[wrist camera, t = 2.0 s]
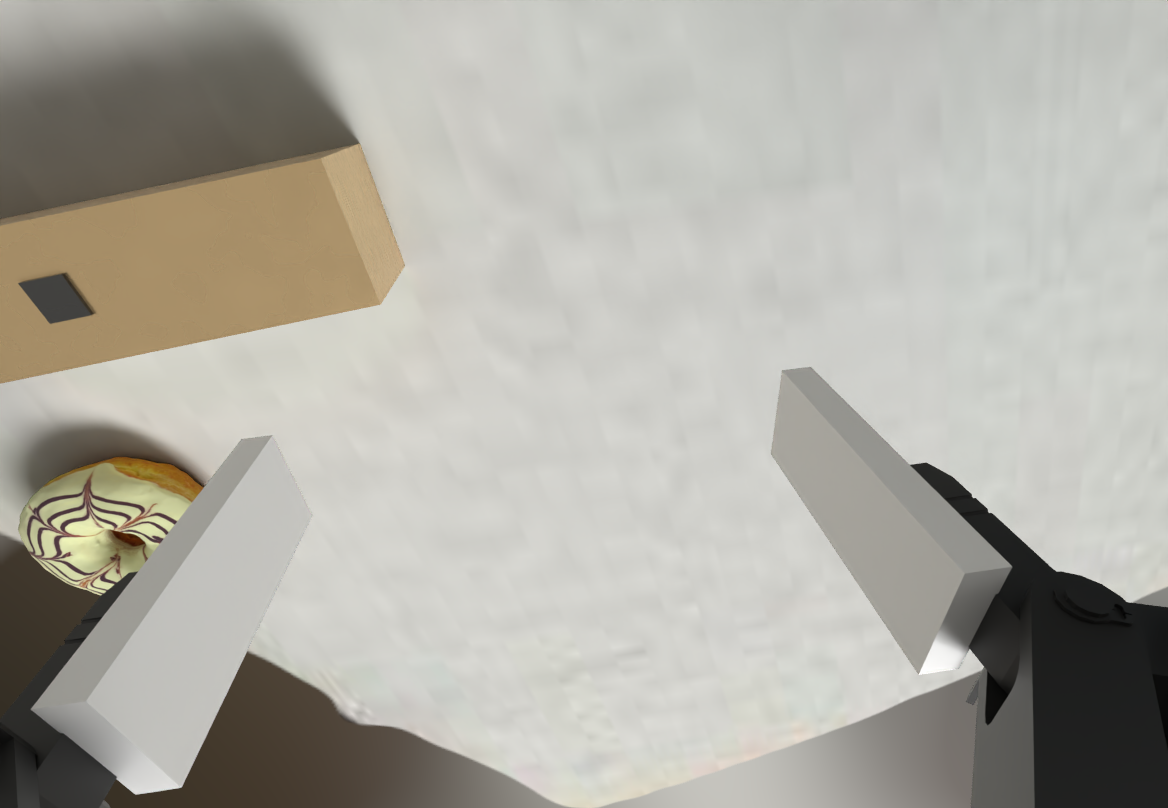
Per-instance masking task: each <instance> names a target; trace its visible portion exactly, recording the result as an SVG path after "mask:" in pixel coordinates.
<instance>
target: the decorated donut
mask: <svg viewBox="0 0 1168 808" xmlns="http://www.w3.org/2000/svg"><path fill="white" fill-rule="evenodd" d="M202 489H203V487H202V486H200V485H199V484H198V483H197V482H195V481H194V480H193V479H192V478H191V477H190V476H189V475H188V474H187V473H185V472H183V471H180V470H179V469H178V468H177V467H175V466H173V465H170V464H164V463H155V462H152V461H147V460H143V459H133V458H129V457H114V458H112V459H109V460H104V461H100V462H97V463H93V464H90V465H86V466H83V467H80V468H77V469H74V470H72V471H69V472H68V473H65V474H62V475H60V476H58V477H56V478H54V479H53V480H50V481H49V482H48V483H47V484H45V485H44V486H43V487H42V488H41V489H40V490H38V492H37V493H35V494H34V495H33V496H32V497H31V498H30V500H29V501H28V503H27V505H26V506H25V507H24V509H23V511H22V513H21V515H20V524H19V528H18V530H19V533H20V535H21V539H22V541H23V542H24V544H25V546H26V547H27V549H28V551H29V553H30V554H31V555H32V557H33V558H34V559H36V560H37V561H38V562H39V563H40V564H41V565H42V566H43V568H45V569H46V570H47V571H49V572H51V573H52V574H53V575H55V576H56V577H58V578H60V579H61V580H63V581H64V582H66V583H68V584H70V585H73V586H75V587H78V588H81V589H85V590H89V591H91V592H93V593H95V594H98V595H102V594H104V593H105V592H106V591H107V590H108V589H110V588H111V587H112V586H113V585H115V584H116V583H117V582H118V581H119V580H121V579H122V578H123V577H124V576H126V575H127V574H128V573H130V572H138V571H139V570H140V569H141V567H142V566H143V565H144V564H145V562H146V561H147V560H148V558H149V557H150V556H151V555H152V553H153V552H154V551H155V549H156V548H157V547H158V546H159V544H160V543H161V542H162V541H163V539H164V538H165V537H166V535H167V534H168V533H169V532H170V530H171V529H172V528H173V526H174V525H175V524H176V523H177V521H178V520H179V519H180V517H181V516H182V515H183V514H184V512H185V511H186V510H187V508H188V507H189V506H190V505H191V503H192V502H193V501H194V500H195V498H196V497H197V496H198V494H199V493H200V492H201V491H202Z"/></svg>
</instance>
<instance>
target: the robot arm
mask: <svg viewBox="0 0 1168 808" xmlns="http://www.w3.org/2000/svg"><path fill="white" fill-rule="evenodd" d="M771 455H772V456H773V458H774V459H775V461H776V462H777V464H778V465H779V467H780V468H781V470H782V471H783V473H784V474H785V476H786V477H787V479H788V480H789V482H790V483H791V485H792V486H793V488H794V489H795V491H796V492H797V494H798V495H799V497H800V498H801V500H802V501H803V503H804V504H805V506H806V507H807V509H808V510H809V512H810V513H811V515H812V516H813V517H814V519H815V520H816V522H817V523H818V525H819V526H820V528H821V529H822V531H823V532H824V534H825V535H826V537H827V538H828V540H829V541H830V543H831V544H832V546H833V547H834V549H835V550H836V552H837V553H838V555H839V556H840V558H841V559H842V561H843V562H844V564H845V565H846V567H847V568H848V570H849V571H850V573H851V574H852V576H853V577H854V579H855V580H856V582H857V583H858V585H859V586H860V588H861V589H862V591H863V592H864V594H865V595H866V597H867V598H868V600H869V601H870V603H871V604H872V606H873V607H874V609H875V610H876V612H877V613H878V615H879V616H880V618H881V619H882V621H883V622H884V624H885V625H886V627H887V628H888V630H889V631H890V633H891V634H892V636H893V637H894V639H895V640H896V642H897V643H898V645H899V646H900V648H901V649H902V651H903V652H904V654H905V655H906V657H907V658H908V660H909V661H910V663H911V664H912V666H913V667H914V669H915V670H916V672H917V673H918V674H919V675H921V674H927V673H934V672H940V671H947V670H953V669H959V668H960V666H961V664H962V662H963V660H964V658H965V657H966V655H967V653H968V651H969V649H971V651H972V652H973V653H974V654H975V656H976V657H977V658H978V660H979V661H980V662H981V663H982V665H983V666H984V668H983V670H982V672H981V673H980V675H979V677H978V679H977V681H976V682H975V684H974V686H973V687H972V689H971V691H970V693H969V696H968V698H967V700H966V702H968V703H970V704H972V705H973V704H974V703H975V701H976V699H977V698H978V705H977V720H976V736H975V752H974V766H973V767H974V768H973V782H972V798H971V808H1168V607H1160V606H1152V605H1144V604H1136V603H1128V602H1126V601H1125V600H1124V599H1123V598H1122V597H1121V596H1119V595H1117V594H1116V593H1114V592H1113V591H1111V590H1110V589H1108V588H1107V587H1105V586H1103V585H1102V584H1100V583H1097V582H1095V581H1092V580H1090V579H1087V578H1085V577H1083V576H1080V575H1075V574H1070V573H1065V572H1056V571H1055V570H1054V569H1052V568H1051V567H1050V566H1049V565H1048V564H1047V563H1046V562H1045V561H1044V560H1042V559H1041V558H1040V557H1039V556H1038V555H1037V554H1036V553H1035V552H1034V551H1033V550H1032V549H1030V548H1029V547H1028V546H1027V545H1026V544H1025V543H1024V542H1023V541H1022V540H1021V539H1020V538H1018V537H1017V536H1016V535H1015V534H1014V533H1013V532H1012V531H1011V530H1010V529H1009V528H1008V527H1007V526H1005V525H1004V524H1003V523H1002V522H1001V521H1000V520H999V519H998V518H997V517H996V516H995V515H993V514H992V513H988V509H987V508H986V507H985V506H984V505H983V504H981V503H980V502H979V501H978V500H977V499H976V498H972V494H971V493H970V492H968V491H967V490H966V489H965V488H964V487H963V486H962V485H961V484H960V483H959V482H958V481H956V480H955V479H954V478H953V477H952V476H950V475H948V474H946V473H945V472H943V471H941V470H939V469H937V468H935V467H933V466H932V465H930V464H928V463H921V464H913V465H909V464H908V463H907V462H906V461H905V460H904V459H903V458H902V457H901V456H900V455H899V454H898V453H897V452H896V451H895V450H894V449H893V448H892V447H891V446H890V445H889V444H888V443H887V442H886V441H885V440H884V439H883V438H882V437H881V436H880V435H879V434H878V433H877V432H876V431H875V430H874V429H873V428H872V427H871V426H870V425H869V424H868V423H867V422H866V421H865V420H864V419H863V418H862V417H861V416H860V415H859V414H858V413H857V412H856V411H855V410H854V409H853V408H852V407H851V406H850V405H849V404H848V403H847V402H846V401H845V400H844V399H843V398H842V397H841V396H839V395H838V394H837V393H836V392H835V391H834V390H833V389H832V388H831V387H830V386H829V385H828V384H827V383H826V382H825V381H824V380H823V379H822V378H821V377H820V376H819V375H818V374H817V373H816V372H815V371H814V370H813V369H812V368H811V367H806V368H798V369H790V370H782V375H781V383H780V390H779V398H778V405H777V413H776V420H775V428H774V435H773V443H772V450H771ZM311 517H312V513H311V511H310V509H309V507H308V505H307V503H306V501H305V499H304V497H303V495H302V493H301V491H300V489H299V487H298V485H297V483H296V481H295V479H294V477H293V475H292V473H291V471H290V469H289V467H288V465H287V463H286V461H285V459H284V457H283V455H282V453H281V451H280V449H279V447H278V445H277V443H276V441H275V439H274V437H273V435H271V436H263V437H255V438H248V439H241V441H240V442H239V443H238V444H237V446H236V447H235V448H234V450H233V451H232V452H231V453H230V455H229V456H228V457H227V459H226V460H225V461H224V462H223V464H222V465H221V466H220V468H219V469H218V470H217V471H216V473H215V474H214V475H213V476H212V478H211V479H210V480H209V482H208V483H207V484H206V485H205V487H204V488H203V489H202V491H201V492H200V493H199V494H198V496H197V497H196V498H195V500H194V501H193V502H192V503H191V505H190V506H189V507H188V508H187V510H186V511H185V512H184V514H183V515H182V516H181V517H180V519H179V520H178V521H177V523H176V524H175V525H174V526H173V528H172V529H171V530H170V532H169V533H168V534H167V535H166V537H165V538H164V539H163V541H162V542H161V543H160V544H159V546H158V547H157V548H156V549H155V551H154V552H153V553H152V555H151V556H150V557H149V558H148V560H147V561H146V562H145V564H144V565H143V566H142V567H141V569H140V570H139V571H138V572H130V573H128V574H127V575H126V576H124V577H123V578H122V579H121V580H119V581H118V582H117V583H116V584H115V585H113V586H112V587H111V588H110V589H108V590H107V591H106V592H105V593H104V594H102V595H101V596H100V598H99V599H98V600H97V601H96V602H95V604H94V605H93V606H92V607H91V609H90V610H89V611H88V612H87V613H86V615H85V616H84V617H83V618H82V620H81V621H82V623H81V624H80V625H77V626H76V627H75V628H74V629H73V631H72V632H71V633H70V634H69V636H68V637H67V638H66V639H65V640H64V641H65V644H64V645H62V646H60V647H59V648H58V649H57V650H56V652H55V653H54V654H53V655H52V656H51V658H50V659H49V660H48V661H47V662H46V664H45V665H44V666H43V667H42V669H41V670H40V671H39V672H38V673H37V675H36V676H35V677H34V678H33V680H32V681H31V682H30V683H29V685H28V686H27V687H26V688H25V689H24V691H23V692H22V693H21V694H20V696H19V697H18V698H17V699H16V701H15V702H14V703H13V704H12V705H11V707H10V708H9V709H8V710H7V711H6V713H5V714H4V715H3V716H2V718H1V719H0V808H110V806H109V804H108V803H107V802H105V801H104V798H105V797H106V795H107V793H108V792H109V790H110V788H111V787H112V785H113V783H114V781H115V780H116V779H117V780H118V781H120V782H121V783H122V784H123V785H124V786H126V787H127V788H128V789H129V790H131V791H132V792H133V793H134V794H142V793H149V792H156V791H162V790H169V789H174V788H181V787H182V785H183V783H184V781H185V779H186V777H187V775H188V773H189V771H190V768H191V767H192V765H193V762H194V760H195V758H196V756H197V754H198V752H199V750H200V748H201V746H202V743H203V741H204V740H205V737H206V735H207V733H208V731H209V729H210V727H211V725H212V723H213V721H214V719H215V717H216V714H217V712H218V710H219V708H220V706H221V704H222V702H223V700H224V698H225V696H226V694H227V692H228V690H229V688H230V686H231V683H232V681H233V679H234V677H235V675H236V673H237V671H238V669H239V667H240V664H241V663H242V660H243V659H244V656H245V654H246V652H247V650H248V648H249V646H250V644H251V642H252V640H253V638H254V636H255V634H256V631H257V629H258V627H259V625H260V623H261V621H262V619H263V617H264V615H265V613H266V611H267V609H268V607H269V604H270V602H271V600H272V598H273V596H274V594H275V592H276V590H277V588H278V586H279V584H280V582H281V580H282V577H283V575H284V573H285V571H286V569H287V567H288V565H289V563H290V561H291V559H292V557H293V555H294V553H295V550H296V548H297V546H298V544H299V542H300V540H301V538H302V536H303V534H304V532H305V530H306V528H307V526H308V523H309V521H310V519H311Z"/></svg>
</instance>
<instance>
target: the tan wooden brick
mask: <svg viewBox="0 0 1168 808" xmlns="http://www.w3.org/2000/svg"><path fill="white" fill-rule="evenodd" d="M404 267H405V264H404V262H403V259H402V256H401V254H400V251H399V248H398V245H397V243H396V240H395V237H394V235H393V232H392V229H391V226H390V224H389V221H388V218H387V216H386V213H385V210H384V208H383V205H382V202H381V199H380V197H379V194H378V191H377V189H376V186H375V183H374V180H373V178H372V175H371V172H370V170H369V167H368V164H367V161H366V159H365V156H364V153H363V151H362V148H361V145H360V143H359V144H355V145H350V146H345V147H340V148H336V149H331V150H326V151H321V152H316V153H312V154H307V155H302V156H297V157H293V158H288V159H283V160H278V161H274V162H269V163H264V164H259V165H255V166H250V167H245V168H240V169H236V170H231V171H226V172H221V173H216V174H212V175H207V176H202V177H197V178H193V179H188V180H183V181H178V182H174V183H169V184H164V185H159V186H155V187H150V188H145V189H140V190H136V191H131V192H126V193H121V194H116V195H112V196H107V197H102V198H97V199H93V200H88V201H83V202H78V203H74V204H69V205H64V206H59V207H55V208H50V209H45V210H40V211H36V212H31V213H26V214H21V215H16V216H12V217H7V218H2V219H0V383H5V382H10V381H15V380H20V379H24V378H29V377H34V376H39V375H44V374H48V373H53V372H58V371H63V370H68V369H73V368H77V367H82V366H87V365H92V364H97V363H101V362H106V361H111V360H116V359H121V358H125V357H130V356H135V355H140V354H145V353H149V352H154V351H159V350H164V349H169V348H174V347H178V346H183V345H188V344H193V343H198V342H202V341H207V340H212V339H217V338H222V337H226V336H231V335H236V334H241V333H246V332H251V331H255V330H260V329H265V328H270V327H275V326H279V325H284V324H289V323H294V322H299V321H303V320H308V319H313V318H318V317H323V316H327V315H332V314H337V313H342V312H347V311H352V310H356V309H361V308H366V307H371V306H376V305H380V304H381V303H382V301H383V300H384V298H385V297H386V295H387V294H388V292H389V290H390V289H391V287H392V286H393V284H394V282H395V281H396V279H397V278H398V276H399V274H400V273H401V271H402V270H403V268H404Z"/></svg>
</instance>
